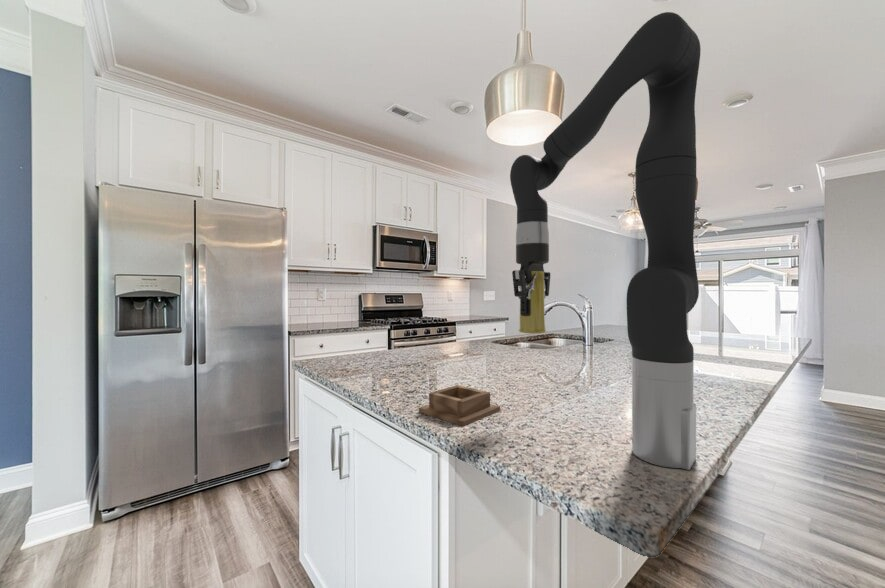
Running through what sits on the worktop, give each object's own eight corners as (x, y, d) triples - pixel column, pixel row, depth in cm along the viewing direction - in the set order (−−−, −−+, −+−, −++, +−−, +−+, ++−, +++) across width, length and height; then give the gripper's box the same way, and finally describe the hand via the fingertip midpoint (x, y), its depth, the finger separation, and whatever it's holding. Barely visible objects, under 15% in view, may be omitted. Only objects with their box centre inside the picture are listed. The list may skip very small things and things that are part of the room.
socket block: (500, 410, 90) (500, 392, 90) (463, 426, 79) (463, 405, 79) (456, 399, 99) (456, 382, 99) (418, 411, 89) (418, 393, 89)
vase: (543, 330, 89) (543, 272, 89) (547, 333, 83) (547, 270, 83) (517, 330, 90) (517, 272, 90) (520, 333, 84) (520, 270, 84)
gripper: (531, 238, 79) (531, 317, 79) (561, 244, 89) (561, 314, 89) (501, 242, 84) (501, 316, 84) (533, 247, 94) (533, 313, 94)
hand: (532, 314), depth 87 cm, fingers closed on vase, 5 cm apart
